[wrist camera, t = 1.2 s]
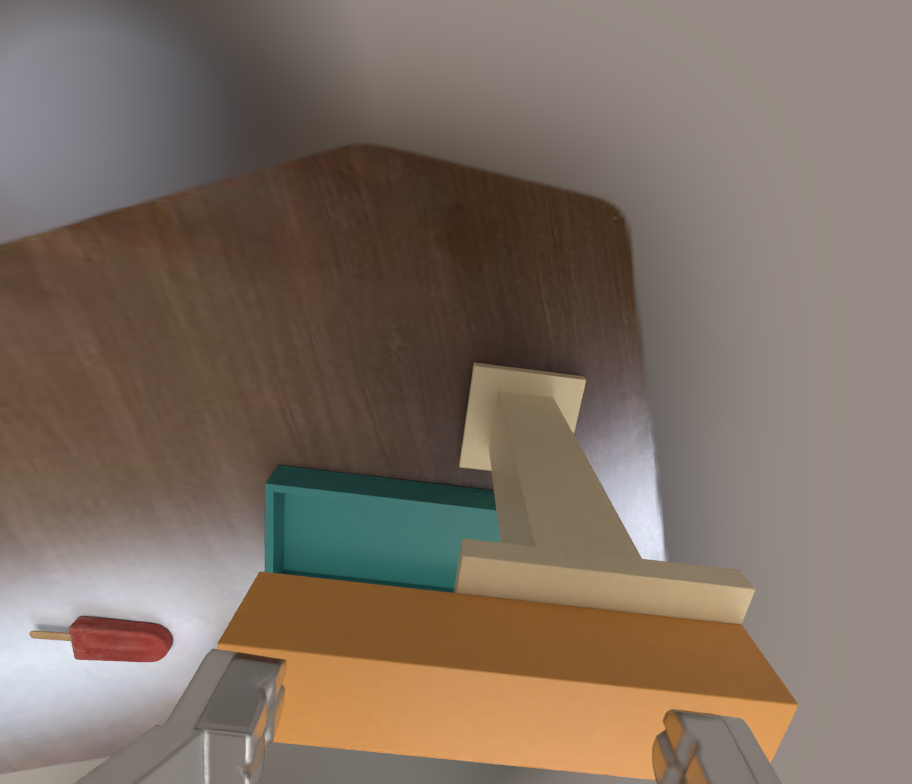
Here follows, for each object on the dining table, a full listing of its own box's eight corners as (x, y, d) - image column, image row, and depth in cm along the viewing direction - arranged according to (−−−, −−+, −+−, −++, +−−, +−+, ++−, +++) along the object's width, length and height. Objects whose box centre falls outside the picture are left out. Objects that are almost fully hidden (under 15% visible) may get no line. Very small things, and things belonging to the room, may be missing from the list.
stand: (449, 460, 47) (436, 719, 22) (462, 360, 43) (465, 534, 19) (571, 474, 47) (692, 746, 22) (593, 377, 44) (764, 569, 19)
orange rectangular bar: (259, 654, 21) (220, 737, 17) (259, 570, 19) (216, 643, 16) (710, 701, 22) (757, 790, 18) (742, 624, 20) (799, 705, 17)
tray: (277, 571, 51) (264, 595, 48) (278, 464, 47) (264, 483, 44) (526, 598, 52) (531, 624, 48) (548, 496, 48) (555, 517, 44)
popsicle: (19, 624, 51) (163, 634, 52) (32, 611, 53) (172, 622, 54) (27, 656, 53) (167, 666, 53) (39, 643, 54) (175, 653, 55)
